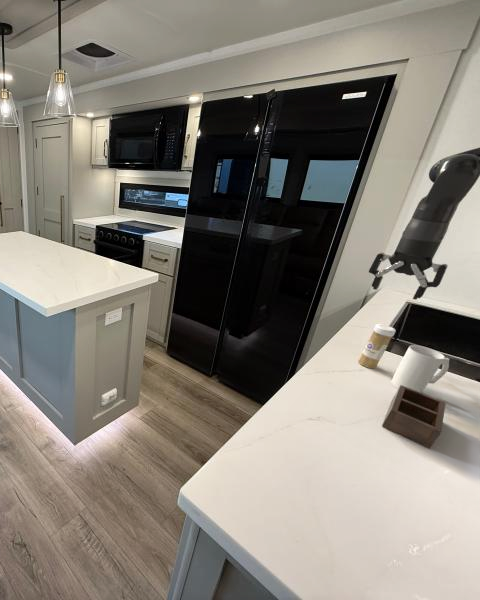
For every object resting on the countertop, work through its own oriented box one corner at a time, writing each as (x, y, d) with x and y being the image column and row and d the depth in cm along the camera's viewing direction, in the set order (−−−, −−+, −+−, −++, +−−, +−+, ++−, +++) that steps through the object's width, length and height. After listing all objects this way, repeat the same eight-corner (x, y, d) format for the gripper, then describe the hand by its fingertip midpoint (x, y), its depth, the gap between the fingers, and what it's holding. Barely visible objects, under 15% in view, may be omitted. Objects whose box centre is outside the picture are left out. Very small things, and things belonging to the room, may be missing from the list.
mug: (400, 393, 84) (421, 356, 80) (383, 378, 91) (402, 343, 86) (443, 400, 83) (468, 363, 78) (423, 384, 89) (445, 349, 84)
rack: (435, 418, 76) (445, 402, 74) (429, 449, 67) (441, 432, 65) (391, 399, 82) (400, 384, 80) (381, 426, 73) (391, 410, 71)
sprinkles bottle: (354, 361, 98) (372, 324, 93) (364, 359, 99) (383, 323, 94) (369, 369, 94) (389, 331, 89) (380, 368, 95) (400, 330, 90)
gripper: (463, 241, 79) (432, 299, 85) (390, 231, 89) (366, 283, 96) (459, 244, 75) (426, 305, 81) (382, 233, 85) (359, 288, 92)
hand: (394, 293), depth 88 cm, fingers open, 8 cm apart
